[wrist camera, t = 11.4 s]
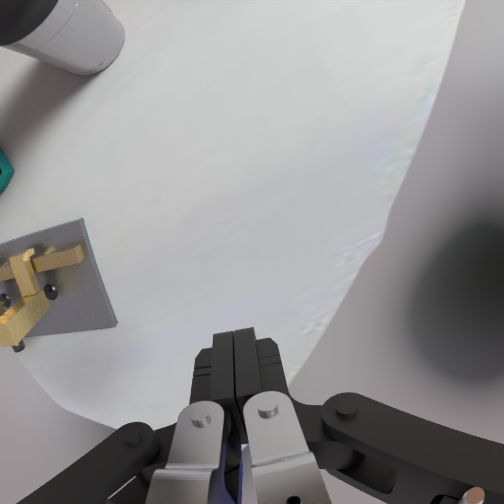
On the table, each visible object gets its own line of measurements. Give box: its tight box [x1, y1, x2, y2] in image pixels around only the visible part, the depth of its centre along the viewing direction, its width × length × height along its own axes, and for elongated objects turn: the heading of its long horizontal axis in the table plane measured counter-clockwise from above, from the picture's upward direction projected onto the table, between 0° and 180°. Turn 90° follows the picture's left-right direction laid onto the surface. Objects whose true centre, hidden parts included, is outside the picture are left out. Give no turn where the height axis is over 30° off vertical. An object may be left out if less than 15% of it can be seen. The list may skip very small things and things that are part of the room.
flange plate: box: [0, 218, 118, 337], centre depth 40 cm, size 16×23×1 cm
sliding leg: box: [0, 248, 50, 352], centre depth 33 cm, size 10×3×12 cm, turn 10°
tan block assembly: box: [0, 243, 87, 317], centre depth 33 cm, size 10×22×12 cm, turn 100°
